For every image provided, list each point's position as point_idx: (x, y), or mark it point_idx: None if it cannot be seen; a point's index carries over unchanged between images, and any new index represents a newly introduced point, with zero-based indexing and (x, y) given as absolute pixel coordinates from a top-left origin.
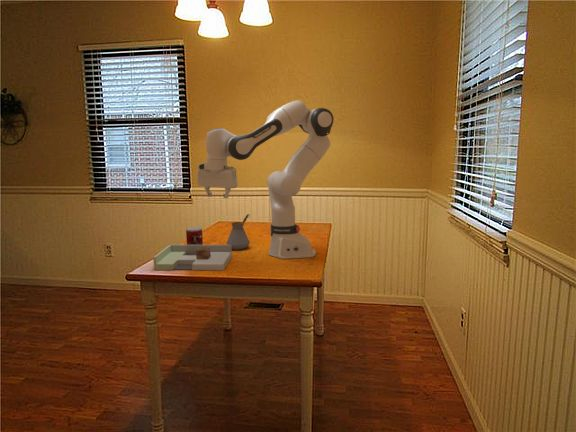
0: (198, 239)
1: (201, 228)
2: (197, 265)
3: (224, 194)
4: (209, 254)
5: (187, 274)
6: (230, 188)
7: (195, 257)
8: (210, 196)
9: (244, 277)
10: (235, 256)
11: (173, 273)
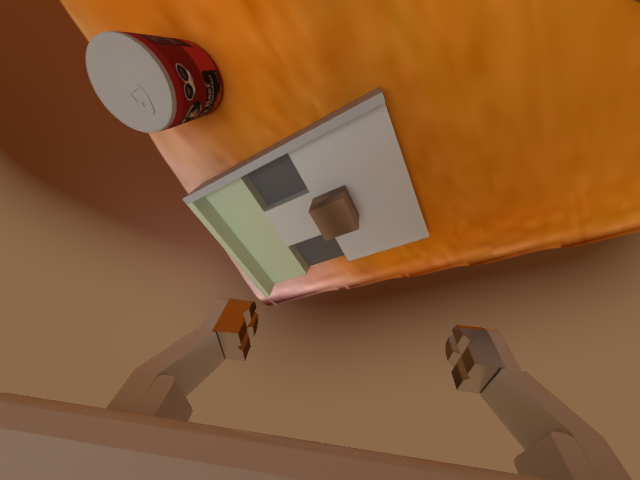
0: (199, 98)
1: (155, 64)
2: (361, 255)
3: (474, 389)
4: (350, 200)
5: (358, 274)
6: (627, 476)
7: None
8: (253, 311)
9: (505, 251)
10: (394, 79)
11: (326, 278)
